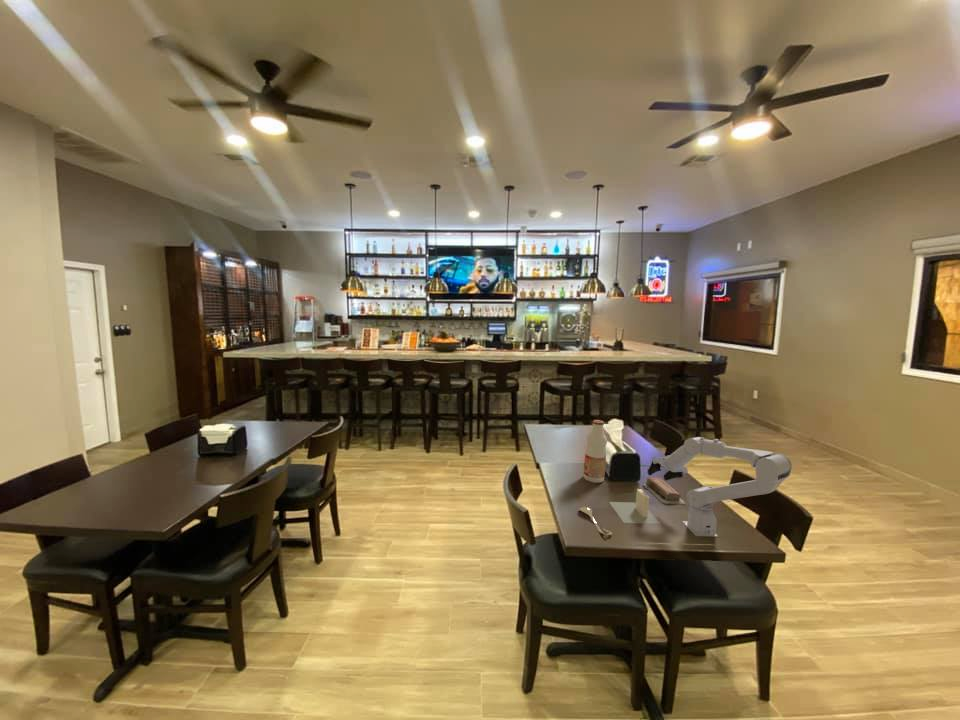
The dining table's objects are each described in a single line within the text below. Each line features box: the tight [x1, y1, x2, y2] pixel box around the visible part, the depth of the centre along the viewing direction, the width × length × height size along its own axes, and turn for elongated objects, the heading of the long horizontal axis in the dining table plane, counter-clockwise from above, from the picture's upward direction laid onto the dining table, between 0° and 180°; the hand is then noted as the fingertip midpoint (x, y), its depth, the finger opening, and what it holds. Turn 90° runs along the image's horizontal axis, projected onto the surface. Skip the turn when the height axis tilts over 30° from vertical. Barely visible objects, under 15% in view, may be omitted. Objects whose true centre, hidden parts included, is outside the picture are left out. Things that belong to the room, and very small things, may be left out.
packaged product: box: [642, 477, 687, 505], centre depth 172 cm, size 18×5×10 cm
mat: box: [608, 501, 662, 525], centre depth 155 cm, size 16×14×1 cm
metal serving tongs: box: [578, 506, 613, 536], centre depth 146 cm, size 20×4×5 cm
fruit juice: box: [582, 419, 608, 484], centre depth 184 cm, size 9×9×28 cm
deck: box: [635, 488, 650, 517], centre depth 154 cm, size 7×2×8 cm, turn 2°
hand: (656, 475), depth 160 cm, fingers open, 7 cm apart
